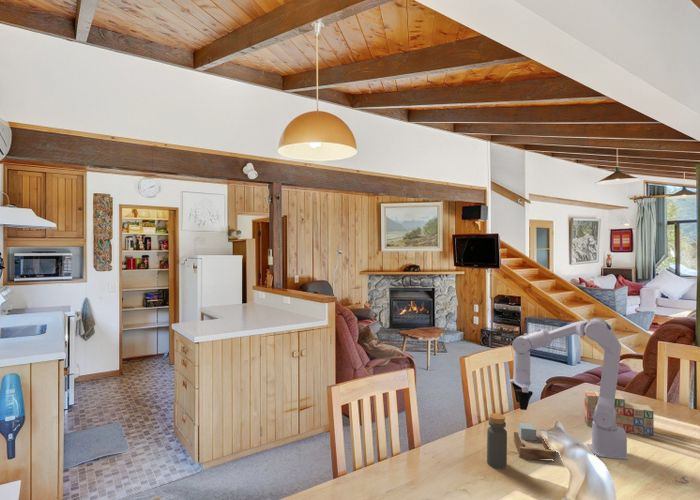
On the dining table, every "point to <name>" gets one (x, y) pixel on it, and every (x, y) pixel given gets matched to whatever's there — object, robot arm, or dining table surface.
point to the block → (527, 431)
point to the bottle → (497, 441)
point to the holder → (533, 450)
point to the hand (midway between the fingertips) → (521, 405)
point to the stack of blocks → (623, 414)
